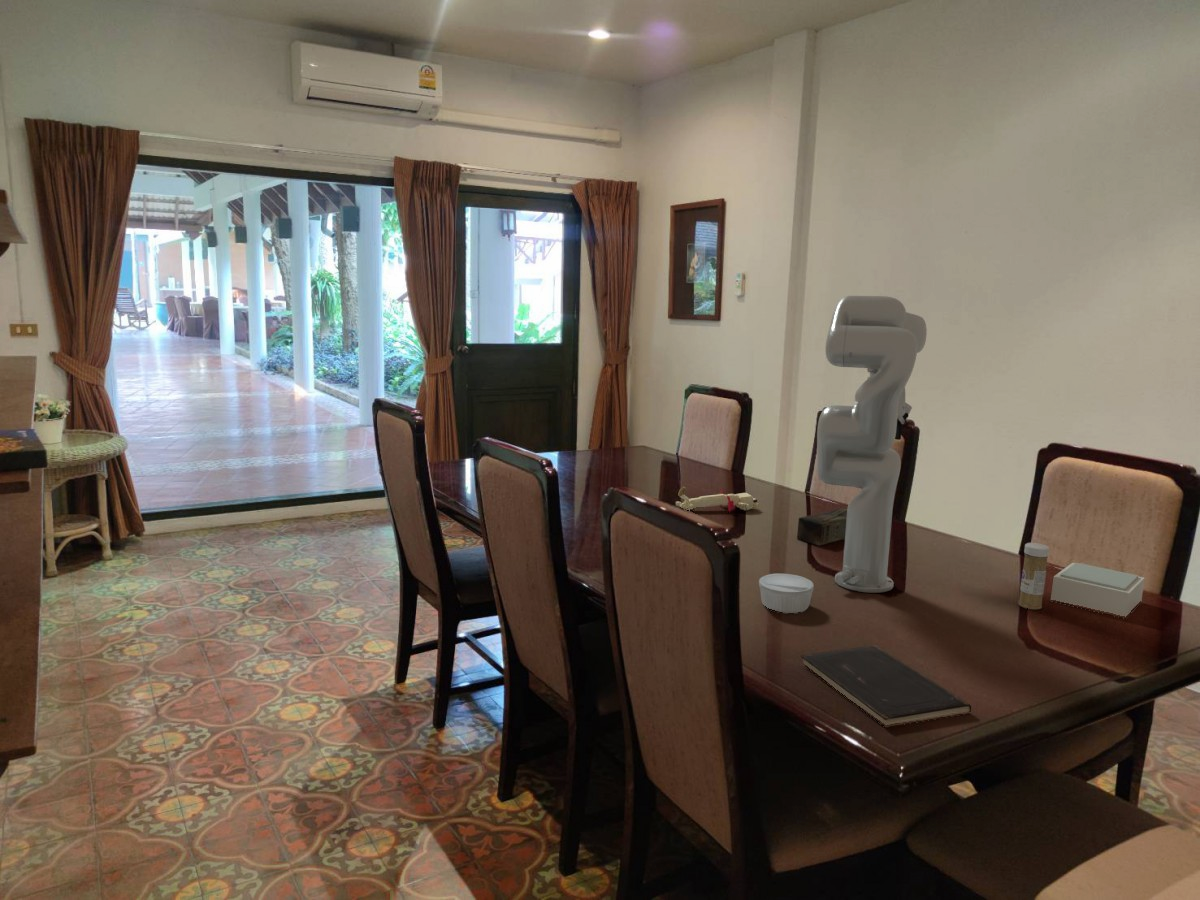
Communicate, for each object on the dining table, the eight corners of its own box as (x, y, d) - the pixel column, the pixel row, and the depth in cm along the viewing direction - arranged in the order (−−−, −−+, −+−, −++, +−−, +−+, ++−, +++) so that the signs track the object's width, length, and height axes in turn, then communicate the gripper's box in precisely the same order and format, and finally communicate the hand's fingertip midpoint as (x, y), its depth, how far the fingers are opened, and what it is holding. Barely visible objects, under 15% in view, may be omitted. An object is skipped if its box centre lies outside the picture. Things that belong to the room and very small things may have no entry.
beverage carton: (862, 535, 227) (864, 512, 226) (819, 547, 215) (821, 523, 214) (837, 528, 233) (839, 506, 232) (795, 540, 221) (796, 516, 220)
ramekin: (772, 618, 165) (774, 593, 165) (748, 598, 176) (749, 575, 175) (822, 613, 168) (824, 589, 168) (795, 595, 179) (797, 571, 178)
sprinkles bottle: (1013, 602, 177) (1020, 542, 174) (1033, 602, 177) (1040, 541, 175) (1026, 610, 172) (1033, 548, 170) (1047, 610, 173) (1054, 548, 170)
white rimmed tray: (1125, 618, 169) (1129, 590, 168) (1050, 600, 178) (1053, 574, 177) (1141, 602, 179) (1145, 575, 178) (1069, 585, 188) (1072, 560, 187)
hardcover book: (883, 732, 123) (885, 718, 123) (799, 667, 144) (800, 654, 144) (970, 717, 128) (972, 703, 128) (877, 656, 150) (878, 644, 149)
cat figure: (683, 520, 243) (763, 510, 248) (682, 491, 241) (762, 482, 246) (673, 512, 252) (750, 502, 257) (672, 484, 251) (750, 475, 256)
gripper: (867, 372, 200) (861, 442, 203) (923, 373, 207) (917, 440, 209) (847, 370, 207) (842, 438, 210) (902, 370, 214) (897, 436, 216)
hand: (880, 439), depth 210 cm, fingers open, 9 cm apart
